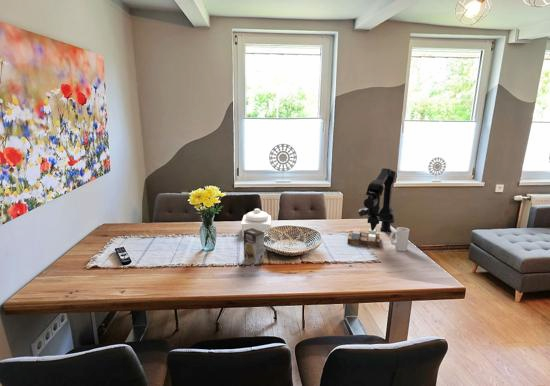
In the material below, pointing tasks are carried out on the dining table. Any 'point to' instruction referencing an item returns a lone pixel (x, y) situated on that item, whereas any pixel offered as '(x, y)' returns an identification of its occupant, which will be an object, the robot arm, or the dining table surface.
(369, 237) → the cream white cube
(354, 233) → the key slate
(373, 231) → the key sage
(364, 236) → the brown shallow tray
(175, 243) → the dining table surface
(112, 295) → the dining table surface
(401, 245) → the mug
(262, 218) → the white lidded jar
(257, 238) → the coffee box
